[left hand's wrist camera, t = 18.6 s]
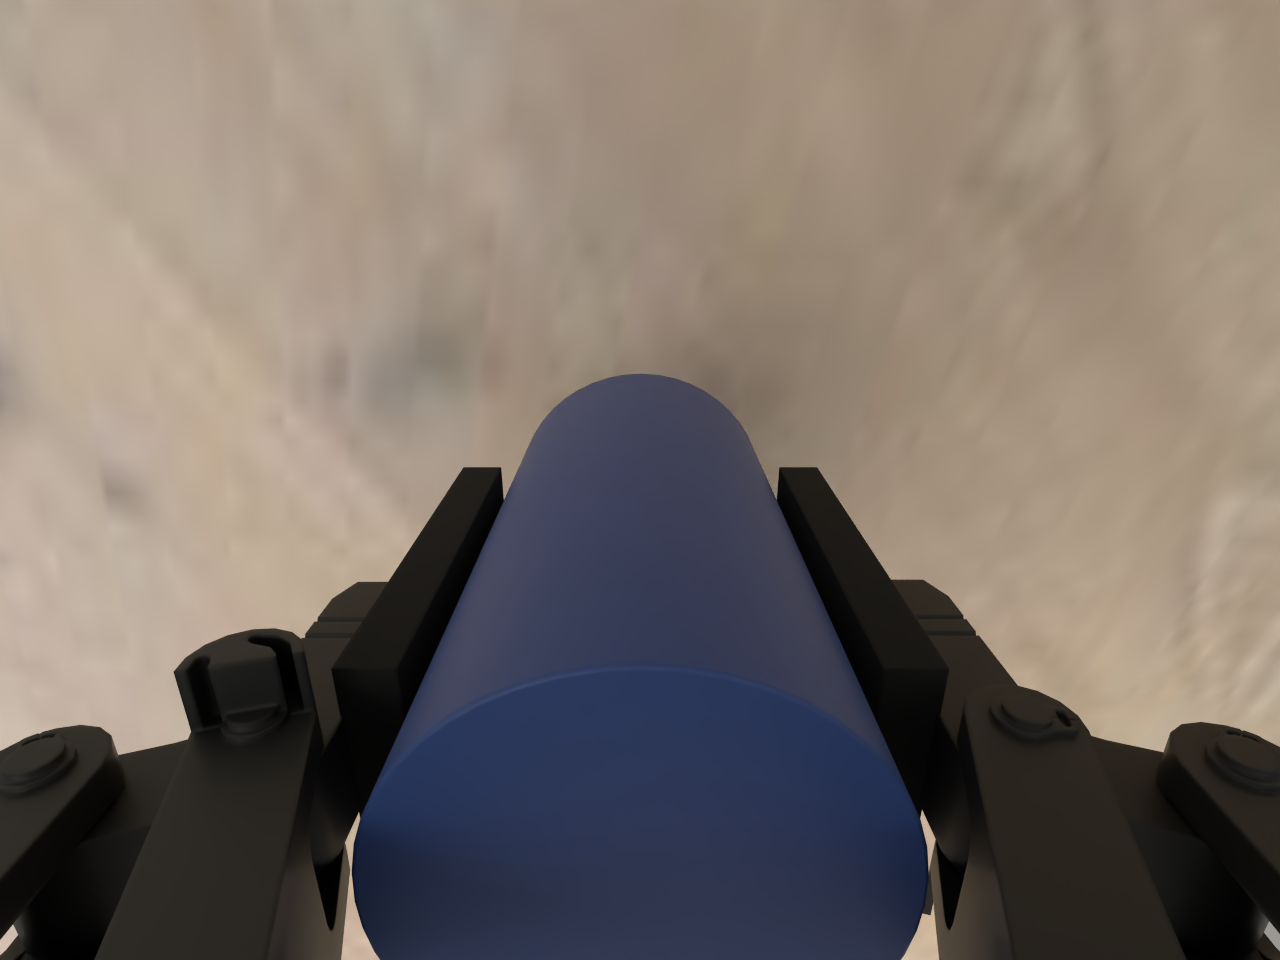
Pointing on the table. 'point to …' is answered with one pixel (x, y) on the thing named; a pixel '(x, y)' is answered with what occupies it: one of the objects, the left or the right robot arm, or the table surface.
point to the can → (640, 724)
